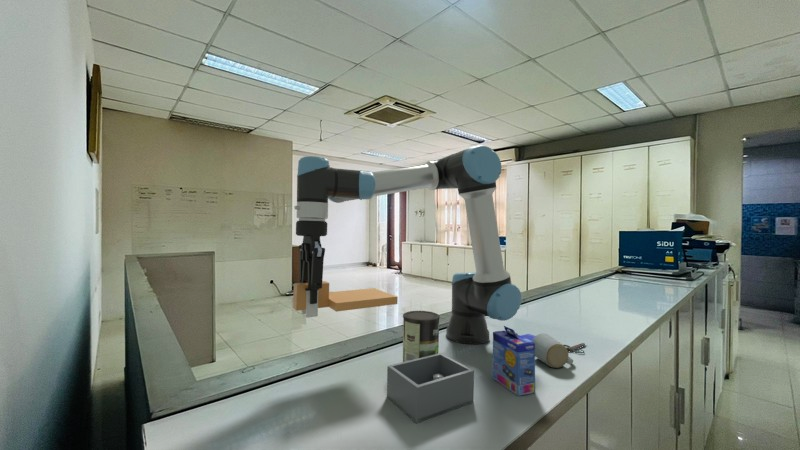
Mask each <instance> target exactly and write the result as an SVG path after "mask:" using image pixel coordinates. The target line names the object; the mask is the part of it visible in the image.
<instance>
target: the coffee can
mask: <svg viewBox="0 0 800 450" xmlns="http://www.w3.org/2000/svg"><path fill="white" fill-rule="evenodd" d="M402 314H403V315H402V318H403V319H402V320H403V321H402V324H403V325H402V326H403V327H402V331H403V332H402V362H405V361H410V360H414V359H418V358H422V357H426V356H430V355H435V354H439V339H440V338H439V337H440V336H439V334H440V333H439V332H440V314H438V313H436V312H433V311H427V310H411V311H406V312H404V313H402Z"/></svg>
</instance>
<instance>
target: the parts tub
mask: <svg viewBox="0 0 800 450" xmlns="http://www.w3.org/2000/svg"><path fill="white" fill-rule="evenodd" d="M386 372H387V373H386V374H387V375H386V376H387V377H386V380H387V381H386V398H387V399H389V400H390V401H391V402H392V403H393V404H395V406H397V407H398V409H400V410H401V411H402V412H403V413H405V415H407V416H408V418H410V419H411V420H412V421H414V423H416V424H419V423H421V422H423V421H426V420H428V419H431V418H434V417H437V416H440V415H442V414H445V413H448V412H450V411H453V410H455V409H458V408H461V407H464V406H466V405H467V406H468V405H469V404H471V403H474V399H475V398H474V395H475V394H474V393H475V392H474V391H475V390H474V388H475V370H474V369H472V368H471V367H469V366H467V365H464V364H463V363H461V362H459V361H457V360H456V359H453V358H451V357H449V356H447V355H446V354H443V353H441V352H440V353H439V352H438V354H435V355H430V356H426V357H422V358H418V359H414V360H410V361H405V362H403V361H401V362H398V363H393V364H390V365H387V371H386Z"/></svg>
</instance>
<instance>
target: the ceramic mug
mask: <svg viewBox="0 0 800 450" xmlns="http://www.w3.org/2000/svg"><path fill="white" fill-rule="evenodd" d="M534 336H535V337H534V339H533V340H532V341H534V342H535V358H537V359H538V360H540V361H541V362H543V363H544V364H545V365H547V366H549V367H551V368H554V369H559V368H562V367H564V366H565V365H566V364H568V365H570V366H571V365H573V362H574V359H573V358H572V357H570V356H569V352H568V351H567V349H566V348H567V347H566V346H564V345H565V344H563V343H561V342H560V341H558V340H557V339H555V338H554V337H553V336H551V335H549V334H548V333H543V332H541V333H539V334H536V335H534Z"/></svg>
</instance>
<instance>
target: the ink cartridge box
mask: <svg viewBox="0 0 800 450" xmlns="http://www.w3.org/2000/svg"><path fill="white" fill-rule="evenodd" d="M503 328H504V330H496V331H493V332H492V379H494V380H495V381H496V382H498V383H499V384H501V385H502V386H503V387H505V388H506V389H507V390H509V391H510V392H511V393H512V394H514V395H515V396H518V397H519V396H524V395H525V396H526V395H529V394H534V393H536V357H535V342H534V341H532V340H529V339H527V338H525V337H522V336H521V335H519V334H518V332H515V330H514V329H513V328H510V327H507V326H505V325H503Z"/></svg>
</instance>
